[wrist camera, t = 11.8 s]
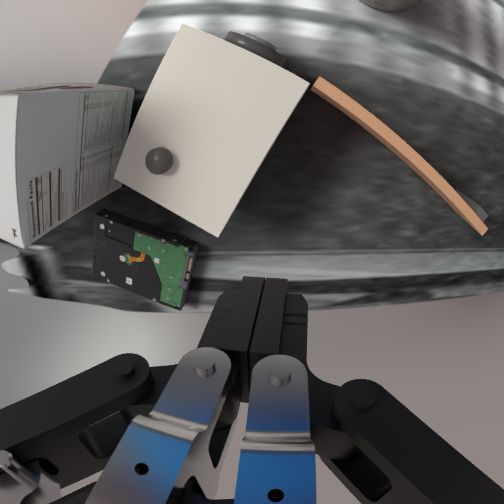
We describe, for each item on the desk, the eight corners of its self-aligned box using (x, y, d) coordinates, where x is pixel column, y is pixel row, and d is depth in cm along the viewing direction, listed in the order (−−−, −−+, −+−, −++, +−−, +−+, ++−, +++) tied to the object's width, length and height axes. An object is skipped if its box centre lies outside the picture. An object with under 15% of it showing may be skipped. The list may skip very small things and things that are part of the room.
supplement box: (137, 85, 30) (21, 91, 15) (124, 188, 37) (26, 253, 21) (41, 83, 31) (-61, 100, 15) (35, 168, 37) (-55, 213, 21)
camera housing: (216, 26, 26) (189, 4, 19) (316, 75, 28) (321, 64, 20) (148, 161, 35) (109, 180, 27) (235, 209, 36) (215, 241, 28)
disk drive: (101, 267, 44) (188, 301, 44) (92, 276, 42) (181, 312, 41) (104, 206, 39) (201, 239, 39) (92, 213, 37) (194, 249, 36)
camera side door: (310, 89, 28) (312, 85, 22) (320, 75, 27) (326, 67, 21) (455, 211, 31) (482, 236, 25) (465, 199, 30) (493, 221, 24)
